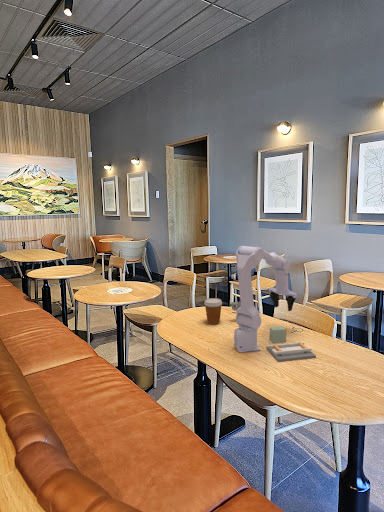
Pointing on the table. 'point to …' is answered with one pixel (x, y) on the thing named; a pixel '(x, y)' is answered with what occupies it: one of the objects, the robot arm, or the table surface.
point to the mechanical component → (236, 306)
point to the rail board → (290, 351)
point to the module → (277, 334)
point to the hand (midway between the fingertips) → (283, 308)
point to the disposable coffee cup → (213, 310)
